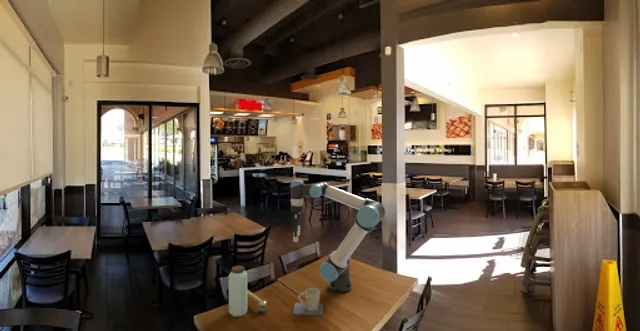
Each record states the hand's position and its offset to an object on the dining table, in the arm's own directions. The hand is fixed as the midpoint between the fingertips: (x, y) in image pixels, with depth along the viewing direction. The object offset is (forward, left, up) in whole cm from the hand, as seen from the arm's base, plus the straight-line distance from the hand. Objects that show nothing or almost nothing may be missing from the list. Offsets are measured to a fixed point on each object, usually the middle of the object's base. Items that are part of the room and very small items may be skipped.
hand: (296, 238), depth 218 cm
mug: (-10, +28, -31) cm, 43 cm away
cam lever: (+22, +24, -29) cm, 44 cm away
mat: (-10, +28, -32) cm, 43 cm away
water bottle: (+28, +34, -32) cm, 54 cm away
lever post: (+15, +32, -32) cm, 47 cm away
